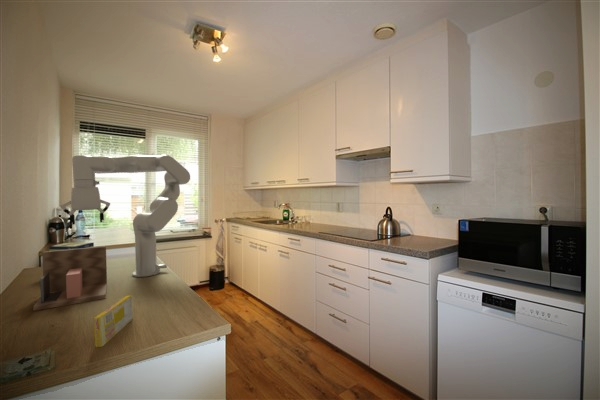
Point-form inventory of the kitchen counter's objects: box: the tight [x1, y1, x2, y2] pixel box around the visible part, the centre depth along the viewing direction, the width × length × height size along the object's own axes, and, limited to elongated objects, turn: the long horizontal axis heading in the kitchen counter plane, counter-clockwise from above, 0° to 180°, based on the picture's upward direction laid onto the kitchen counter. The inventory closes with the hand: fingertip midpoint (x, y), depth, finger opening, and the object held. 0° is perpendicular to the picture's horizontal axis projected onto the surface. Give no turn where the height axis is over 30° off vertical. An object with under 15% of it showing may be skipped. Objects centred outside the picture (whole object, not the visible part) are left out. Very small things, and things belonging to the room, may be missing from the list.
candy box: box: [93, 295, 134, 348], centre depth 83 cm, size 16×2×8 cm, turn 5°
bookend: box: [39, 272, 62, 303], centre depth 107 cm, size 4×11×9 cm, turn 33°
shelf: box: [32, 245, 108, 311], centre depth 111 cm, size 21×18×18 cm
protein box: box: [48, 242, 95, 251], centre depth 145 cm, size 10×16×16 cm
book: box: [66, 268, 83, 299], centre depth 111 cm, size 4×10×9 cm, turn 34°
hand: (87, 223), depth 122 cm, fingers open, 9 cm apart
